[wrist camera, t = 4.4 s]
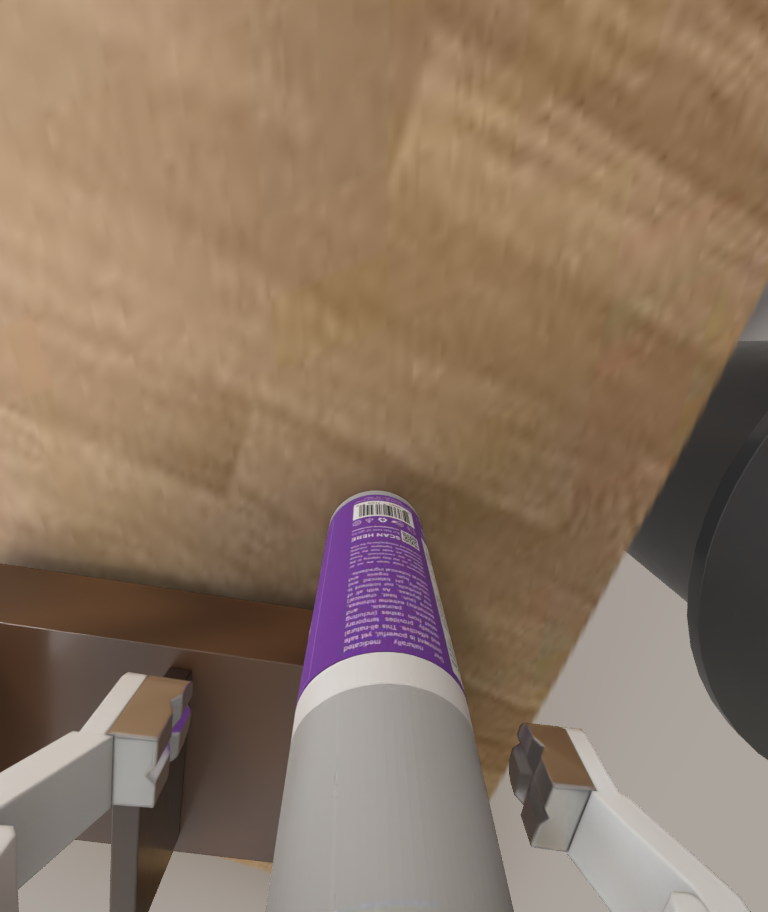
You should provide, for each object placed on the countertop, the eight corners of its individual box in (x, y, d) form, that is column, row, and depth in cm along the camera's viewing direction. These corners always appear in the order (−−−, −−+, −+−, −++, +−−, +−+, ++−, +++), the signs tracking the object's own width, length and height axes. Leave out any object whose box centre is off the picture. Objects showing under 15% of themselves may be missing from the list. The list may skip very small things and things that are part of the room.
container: (308, 532, 21) (181, 1008, 7) (377, 470, 20) (403, 871, 6) (373, 589, 22) (384, 1093, 8) (441, 533, 21) (593, 991, 7)
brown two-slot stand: (395, 622, 22) (404, 767, 15) (359, 792, 25) (350, 988, 18) (-33, 558, 21) (-269, 679, 13) (-19, 744, 24) (-207, 933, 16)
